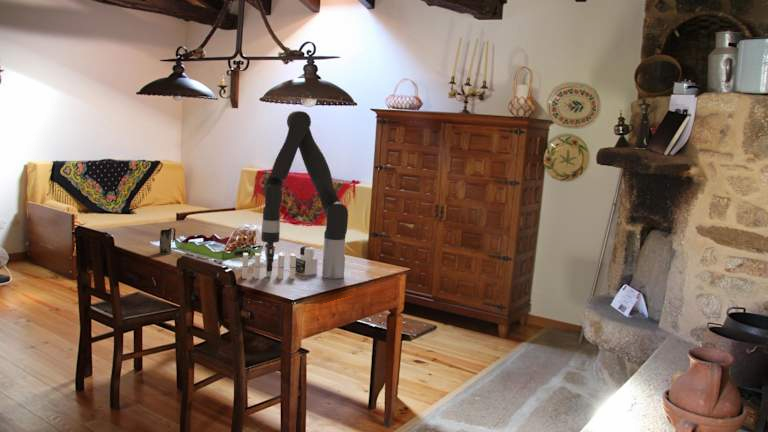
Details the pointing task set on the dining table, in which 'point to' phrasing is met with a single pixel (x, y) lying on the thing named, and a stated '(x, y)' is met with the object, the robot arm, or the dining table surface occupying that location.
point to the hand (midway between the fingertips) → (268, 269)
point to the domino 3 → (268, 273)
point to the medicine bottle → (306, 262)
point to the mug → (166, 241)
